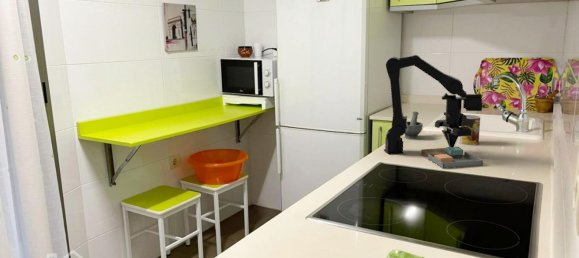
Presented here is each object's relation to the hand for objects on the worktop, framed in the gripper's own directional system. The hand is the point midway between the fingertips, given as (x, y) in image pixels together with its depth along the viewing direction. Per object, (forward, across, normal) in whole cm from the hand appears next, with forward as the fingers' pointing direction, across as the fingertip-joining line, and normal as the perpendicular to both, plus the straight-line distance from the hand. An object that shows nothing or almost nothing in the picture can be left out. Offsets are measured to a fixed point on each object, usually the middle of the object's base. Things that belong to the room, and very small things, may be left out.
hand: (451, 148), depth 182 cm
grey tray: (+3, -9, +4) cm, 10 cm away
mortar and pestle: (+3, +32, +2) cm, 32 cm away
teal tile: (+1, -3, +1) cm, 4 cm away
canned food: (+3, +16, -18) cm, 24 cm away
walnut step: (+3, +1, +4) cm, 5 cm away
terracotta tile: (+3, -8, +8) cm, 11 cm away
